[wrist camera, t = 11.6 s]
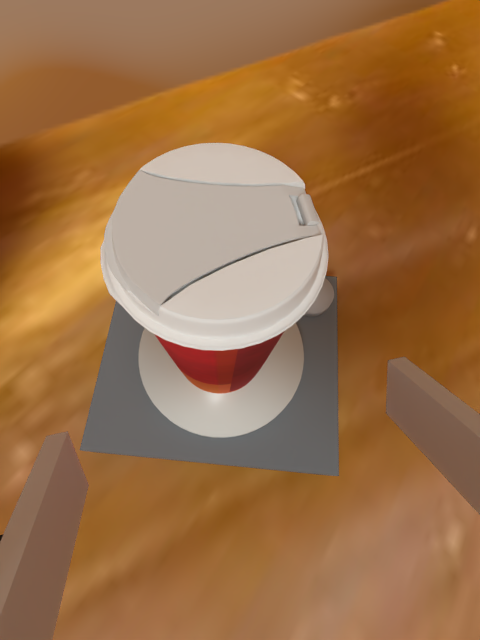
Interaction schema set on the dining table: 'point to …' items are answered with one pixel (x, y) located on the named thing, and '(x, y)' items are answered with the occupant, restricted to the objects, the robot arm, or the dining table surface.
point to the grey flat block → (223, 400)
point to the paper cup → (215, 258)
